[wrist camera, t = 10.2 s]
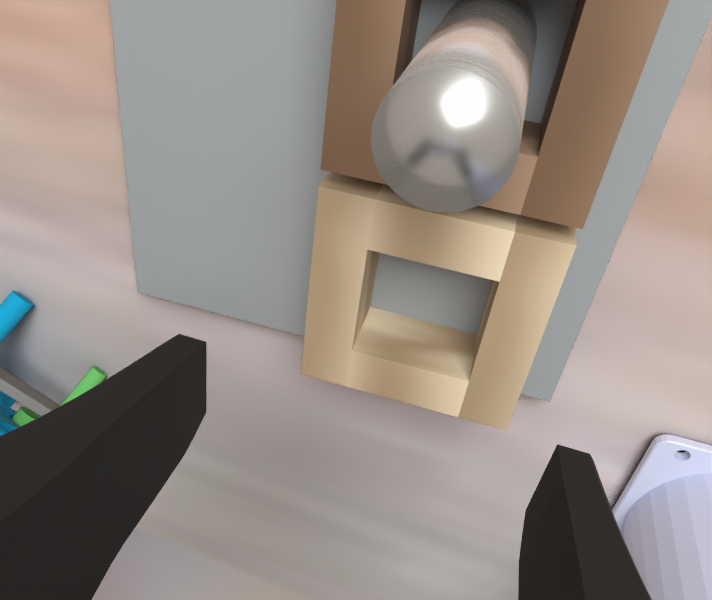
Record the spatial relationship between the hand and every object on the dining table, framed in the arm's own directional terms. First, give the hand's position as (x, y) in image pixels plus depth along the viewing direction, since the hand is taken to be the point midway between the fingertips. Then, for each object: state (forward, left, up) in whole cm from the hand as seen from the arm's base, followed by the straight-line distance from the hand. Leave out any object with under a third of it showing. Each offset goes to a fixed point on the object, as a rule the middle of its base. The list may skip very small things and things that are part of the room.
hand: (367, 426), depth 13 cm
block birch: (0, +2, -9) cm, 9 cm away
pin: (0, -6, -9) cm, 11 cm away
